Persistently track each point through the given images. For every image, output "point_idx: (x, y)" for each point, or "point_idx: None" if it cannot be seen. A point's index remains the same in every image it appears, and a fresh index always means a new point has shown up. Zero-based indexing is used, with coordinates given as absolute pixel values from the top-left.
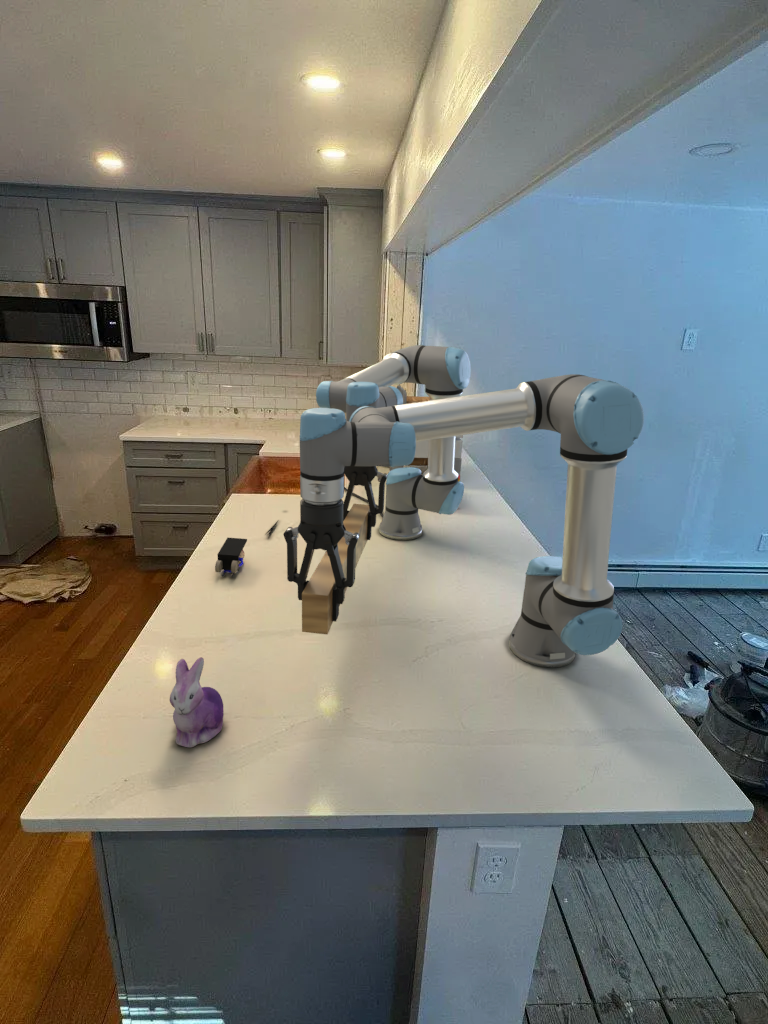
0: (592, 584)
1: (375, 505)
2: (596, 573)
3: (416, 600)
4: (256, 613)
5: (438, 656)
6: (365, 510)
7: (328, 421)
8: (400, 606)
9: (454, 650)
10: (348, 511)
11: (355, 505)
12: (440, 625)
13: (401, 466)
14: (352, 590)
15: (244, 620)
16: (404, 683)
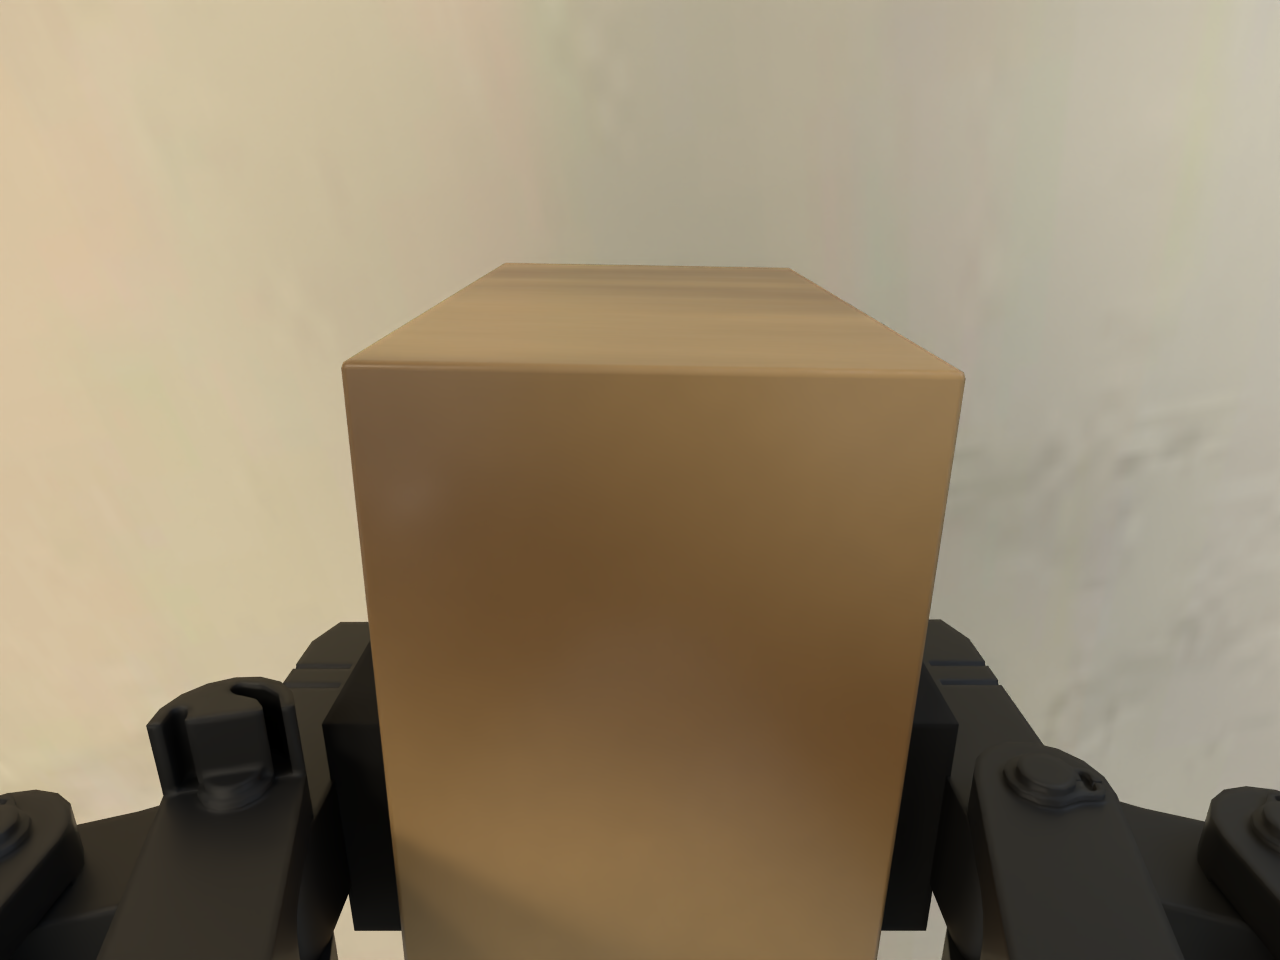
0: None
1: (1157, 933)
2: None
3: (1061, 200)
4: (82, 556)
5: (1104, 761)
6: (804, 860)
7: None
8: (939, 311)
9: (1196, 707)
10: (360, 783)
11: (450, 548)
12: (1172, 496)
13: None
14: (575, 133)
15: (62, 633)
16: (931, 936)
